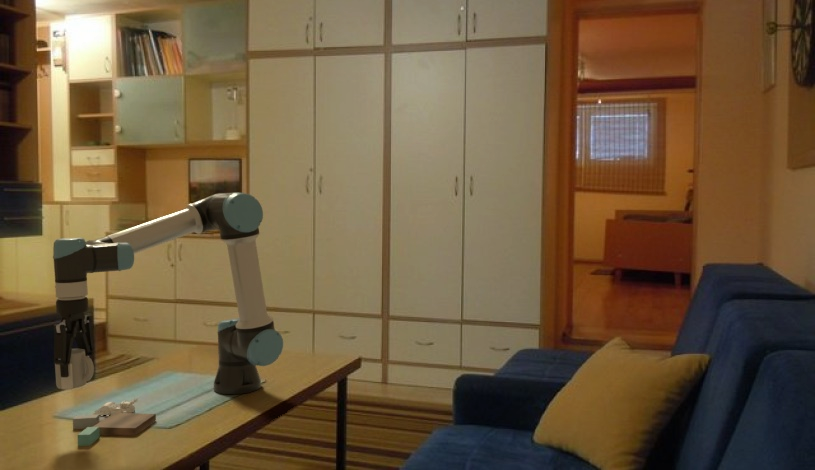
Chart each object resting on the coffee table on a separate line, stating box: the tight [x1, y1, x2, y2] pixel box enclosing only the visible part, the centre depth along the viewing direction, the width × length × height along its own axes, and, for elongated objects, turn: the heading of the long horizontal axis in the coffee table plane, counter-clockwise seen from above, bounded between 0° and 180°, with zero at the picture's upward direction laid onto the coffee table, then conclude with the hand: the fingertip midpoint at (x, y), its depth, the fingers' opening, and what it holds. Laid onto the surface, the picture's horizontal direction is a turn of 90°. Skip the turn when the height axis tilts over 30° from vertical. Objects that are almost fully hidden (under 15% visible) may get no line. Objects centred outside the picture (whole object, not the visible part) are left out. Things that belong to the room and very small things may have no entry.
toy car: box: [92, 398, 138, 416], centre depth 201 cm, size 6×12×4 cm, turn 90°
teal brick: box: [77, 427, 101, 447], centre depth 177 cm, size 6×3×3 cm, turn 2°
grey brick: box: [72, 414, 100, 430], centre depth 189 cm, size 6×3×3 cm, turn 99°
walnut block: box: [93, 412, 157, 437], centre depth 188 cm, size 12×12×2 cm
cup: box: [54, 348, 95, 390], centre depth 179 cm, size 7×10×9 cm
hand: (76, 384), depth 180 cm, fingers closed on cup, 7 cm apart
